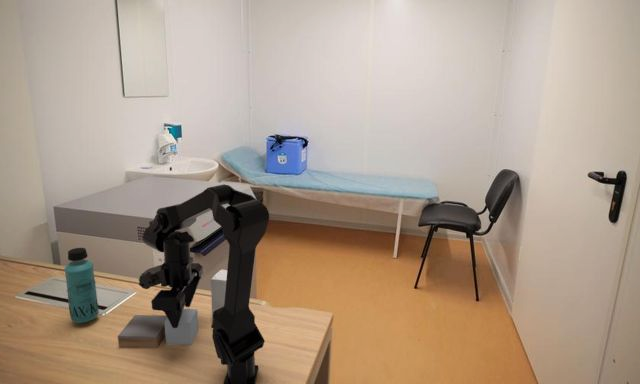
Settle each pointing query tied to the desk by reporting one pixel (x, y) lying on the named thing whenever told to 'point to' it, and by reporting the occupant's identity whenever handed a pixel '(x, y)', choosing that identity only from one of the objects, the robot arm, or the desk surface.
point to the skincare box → (218, 290)
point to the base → (143, 332)
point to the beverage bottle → (81, 286)
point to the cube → (183, 328)
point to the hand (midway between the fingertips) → (181, 316)
